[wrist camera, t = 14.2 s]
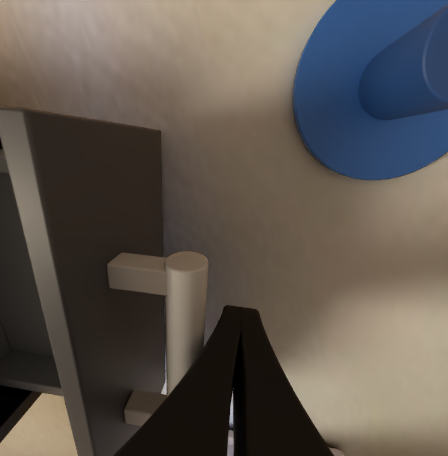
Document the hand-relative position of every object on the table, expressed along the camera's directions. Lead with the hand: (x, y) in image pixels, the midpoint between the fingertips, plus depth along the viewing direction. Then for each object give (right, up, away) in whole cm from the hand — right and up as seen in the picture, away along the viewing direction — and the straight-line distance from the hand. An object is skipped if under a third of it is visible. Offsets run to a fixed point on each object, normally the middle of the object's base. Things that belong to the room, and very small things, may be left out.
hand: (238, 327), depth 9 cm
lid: (+5, +9, -1) cm, 10 cm away
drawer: (-7, +2, +3) cm, 7 cm away
